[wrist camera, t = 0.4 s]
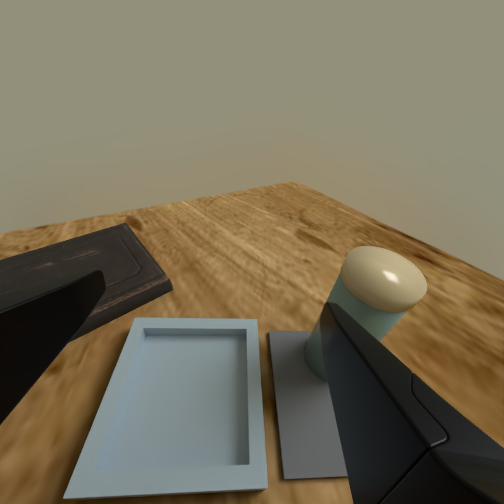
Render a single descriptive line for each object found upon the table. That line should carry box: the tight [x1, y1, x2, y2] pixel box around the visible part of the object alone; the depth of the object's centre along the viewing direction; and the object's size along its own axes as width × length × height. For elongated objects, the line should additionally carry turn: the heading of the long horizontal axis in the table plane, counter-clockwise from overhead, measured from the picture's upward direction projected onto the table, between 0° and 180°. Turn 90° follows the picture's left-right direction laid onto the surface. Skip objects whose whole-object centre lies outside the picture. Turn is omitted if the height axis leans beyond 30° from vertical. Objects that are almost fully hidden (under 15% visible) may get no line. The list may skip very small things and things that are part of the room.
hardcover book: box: [0, 223, 173, 343], centre depth 27 cm, size 16×23×2 cm
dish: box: [63, 318, 268, 500], centre depth 20 cm, size 13×13×2 cm
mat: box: [269, 331, 348, 480], centre depth 22 cm, size 12×10×1 cm
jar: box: [304, 246, 427, 382], centre depth 20 cm, size 5×5×13 cm
